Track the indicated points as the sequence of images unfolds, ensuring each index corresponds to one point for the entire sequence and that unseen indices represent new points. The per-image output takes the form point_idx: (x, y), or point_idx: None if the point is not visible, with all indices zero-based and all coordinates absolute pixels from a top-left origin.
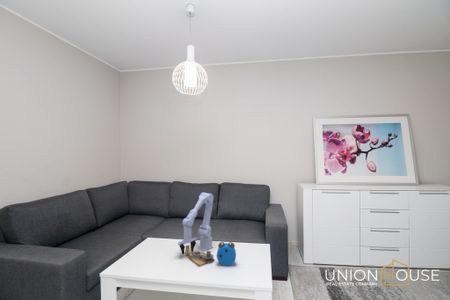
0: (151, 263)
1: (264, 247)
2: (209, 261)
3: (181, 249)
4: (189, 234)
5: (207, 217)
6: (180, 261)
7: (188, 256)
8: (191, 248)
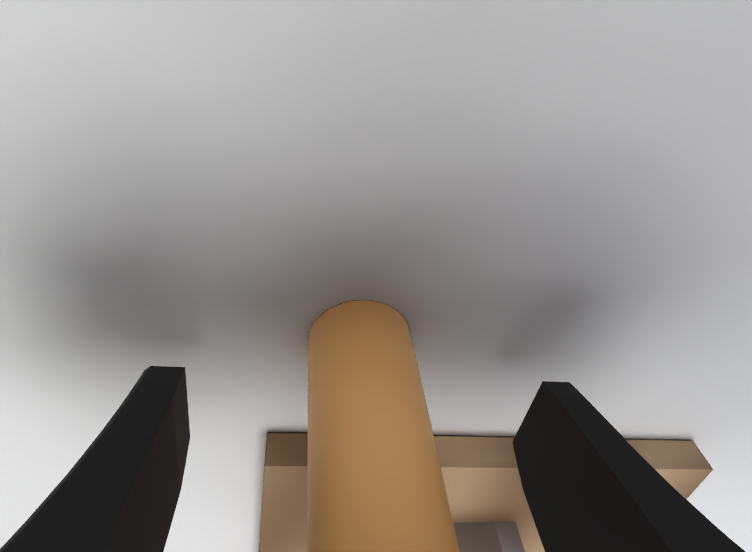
0: None
1: None
2: None
3: (58, 531)
4: None
5: None
6: (15, 467)
7: (286, 476)
8: (575, 482)
